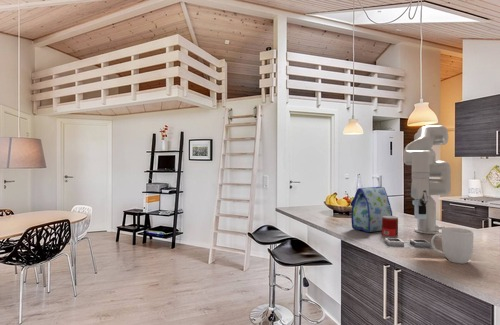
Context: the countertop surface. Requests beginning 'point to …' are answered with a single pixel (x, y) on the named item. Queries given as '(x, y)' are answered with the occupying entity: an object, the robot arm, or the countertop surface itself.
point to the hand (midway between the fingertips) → (420, 212)
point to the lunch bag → (370, 208)
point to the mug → (455, 244)
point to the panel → (407, 243)
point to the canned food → (390, 225)
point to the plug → (416, 210)
